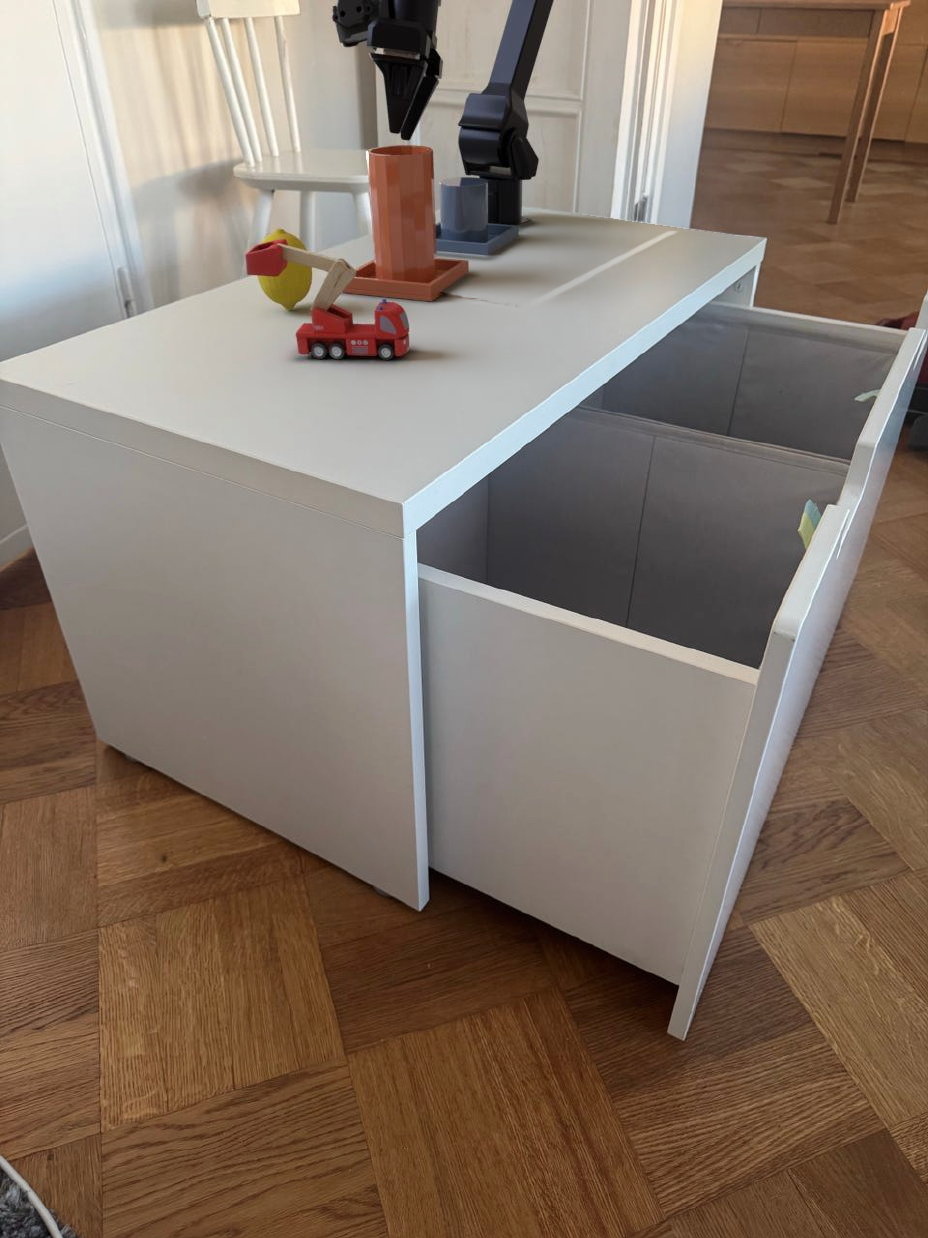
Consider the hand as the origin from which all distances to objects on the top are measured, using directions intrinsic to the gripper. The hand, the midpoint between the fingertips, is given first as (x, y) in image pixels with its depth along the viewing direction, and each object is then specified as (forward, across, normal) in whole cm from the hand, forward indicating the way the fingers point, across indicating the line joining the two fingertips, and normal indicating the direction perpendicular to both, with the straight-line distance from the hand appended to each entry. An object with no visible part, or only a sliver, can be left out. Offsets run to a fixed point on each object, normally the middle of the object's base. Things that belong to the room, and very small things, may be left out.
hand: (400, 136), depth 106 cm
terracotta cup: (+15, +10, +4) cm, 18 cm away
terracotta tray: (+15, +10, +4) cm, 18 cm away
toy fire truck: (+20, +33, +1) cm, 38 cm away
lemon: (+19, +20, -7) cm, 28 cm away
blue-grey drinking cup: (+10, -7, +8) cm, 15 cm away
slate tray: (+11, -7, +8) cm, 16 cm away
